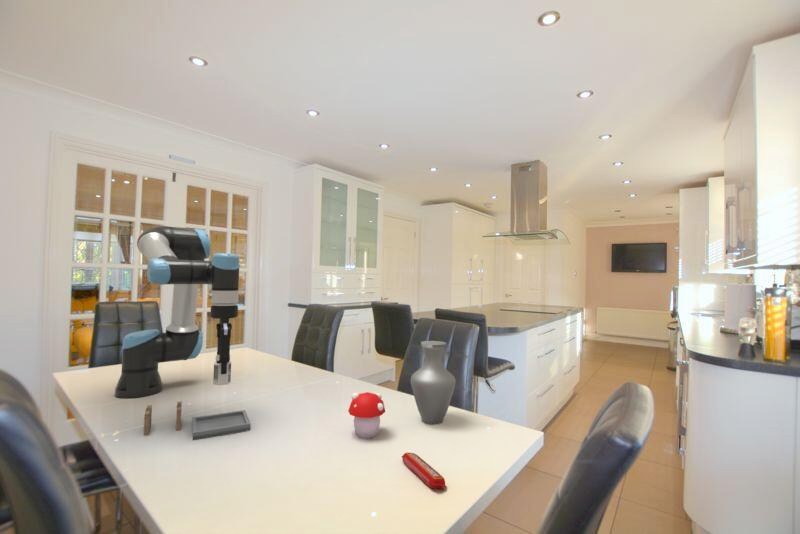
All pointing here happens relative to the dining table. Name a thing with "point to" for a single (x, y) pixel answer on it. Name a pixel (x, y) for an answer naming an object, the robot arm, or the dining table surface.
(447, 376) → the vase
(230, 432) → the slate tray
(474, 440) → the dining table surface
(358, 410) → the mushroom
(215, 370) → the pill bottle
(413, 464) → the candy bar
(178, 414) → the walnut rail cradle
